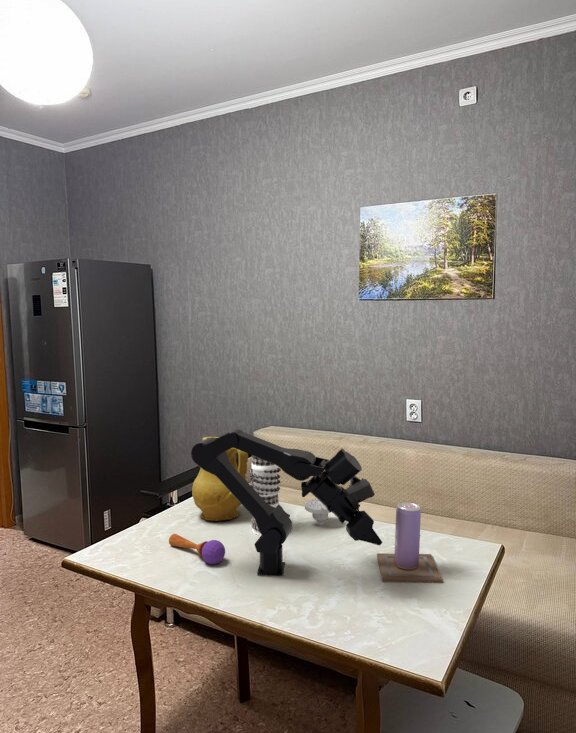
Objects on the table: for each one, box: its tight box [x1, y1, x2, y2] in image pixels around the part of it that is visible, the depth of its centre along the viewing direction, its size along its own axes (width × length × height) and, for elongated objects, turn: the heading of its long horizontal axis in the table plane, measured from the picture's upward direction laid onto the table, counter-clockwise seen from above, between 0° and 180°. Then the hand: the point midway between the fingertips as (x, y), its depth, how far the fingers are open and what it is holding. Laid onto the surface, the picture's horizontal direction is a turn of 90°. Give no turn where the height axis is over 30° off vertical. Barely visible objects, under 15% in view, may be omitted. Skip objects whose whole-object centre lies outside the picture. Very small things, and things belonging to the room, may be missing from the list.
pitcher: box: [191, 436, 249, 522], centre depth 169 cm, size 17×19×25 cm
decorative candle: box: [249, 455, 282, 536], centre depth 157 cm, size 9×9×25 cm
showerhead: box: [304, 498, 331, 526], centre depth 162 cm, size 9×7×10 cm
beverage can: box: [394, 502, 422, 570], centre depth 133 cm, size 6×6×15 cm
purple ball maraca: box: [168, 533, 226, 565], centre depth 143 cm, size 6×6×20 cm
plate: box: [376, 552, 444, 584], centre depth 133 cm, size 14×14×1 cm
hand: (375, 535), depth 131 cm, fingers open, 9 cm apart
